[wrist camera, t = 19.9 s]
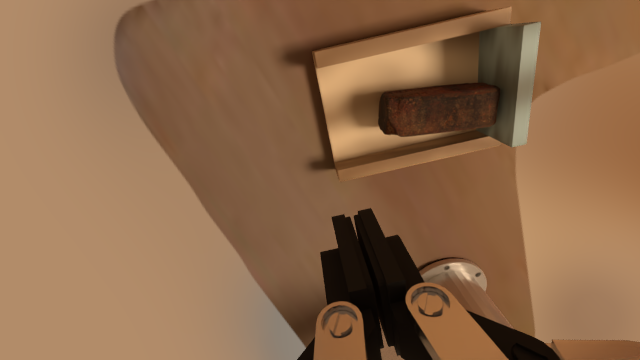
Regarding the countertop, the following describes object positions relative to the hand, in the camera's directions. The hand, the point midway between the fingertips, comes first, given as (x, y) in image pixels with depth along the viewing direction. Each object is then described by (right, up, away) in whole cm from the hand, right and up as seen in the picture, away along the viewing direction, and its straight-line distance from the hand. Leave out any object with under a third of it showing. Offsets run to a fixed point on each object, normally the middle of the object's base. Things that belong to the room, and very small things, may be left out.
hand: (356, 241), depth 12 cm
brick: (+10, +11, +19) cm, 24 cm away
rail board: (+8, +12, +20) cm, 24 cm away
